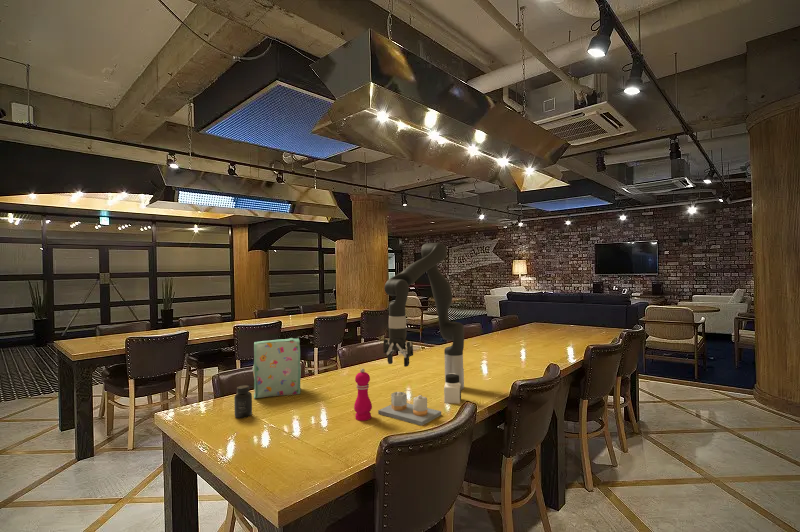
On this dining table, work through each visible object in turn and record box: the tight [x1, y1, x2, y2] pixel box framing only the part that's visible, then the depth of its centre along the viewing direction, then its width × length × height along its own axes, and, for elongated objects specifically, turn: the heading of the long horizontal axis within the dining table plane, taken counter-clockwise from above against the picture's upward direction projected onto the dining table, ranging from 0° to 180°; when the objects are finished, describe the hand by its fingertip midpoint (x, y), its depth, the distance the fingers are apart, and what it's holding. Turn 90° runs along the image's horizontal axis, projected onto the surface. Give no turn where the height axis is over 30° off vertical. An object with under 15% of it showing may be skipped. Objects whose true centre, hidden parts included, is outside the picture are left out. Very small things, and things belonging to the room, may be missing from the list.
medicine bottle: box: [443, 373, 462, 405], centre depth 178 cm, size 7×7×12 cm
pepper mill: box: [353, 367, 373, 422], centre depth 158 cm, size 7×7×20 cm
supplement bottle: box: [233, 384, 253, 419], centre depth 163 cm, size 7×7×12 cm
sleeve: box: [390, 391, 408, 411], centre depth 165 cm, size 6×6×6 cm
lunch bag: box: [251, 337, 302, 399], centre depth 194 cm, size 23×16×27 cm
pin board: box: [377, 391, 442, 426], centre depth 161 cm, size 14×22×9 cm, turn 52°
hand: (398, 364), depth 165 cm, fingers open, 8 cm apart
